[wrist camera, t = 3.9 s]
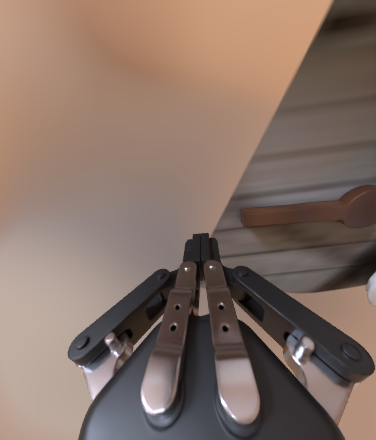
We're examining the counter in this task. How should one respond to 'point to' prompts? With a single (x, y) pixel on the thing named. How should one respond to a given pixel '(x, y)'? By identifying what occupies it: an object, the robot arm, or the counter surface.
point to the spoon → (319, 211)
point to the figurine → (372, 290)
